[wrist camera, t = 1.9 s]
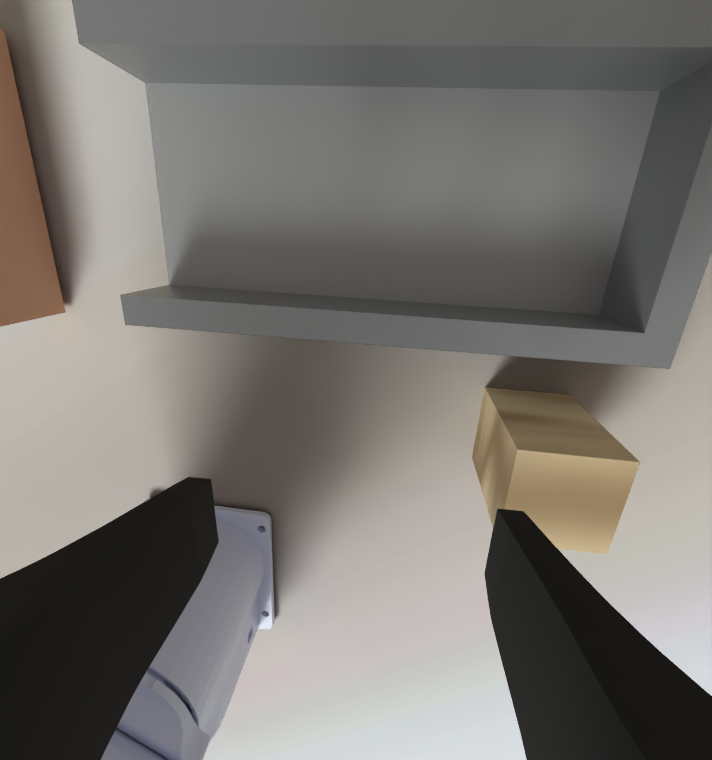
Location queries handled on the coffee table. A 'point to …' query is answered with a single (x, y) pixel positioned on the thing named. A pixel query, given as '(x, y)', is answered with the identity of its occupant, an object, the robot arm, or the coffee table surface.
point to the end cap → (21, 217)
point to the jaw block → (552, 466)
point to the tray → (426, 169)
